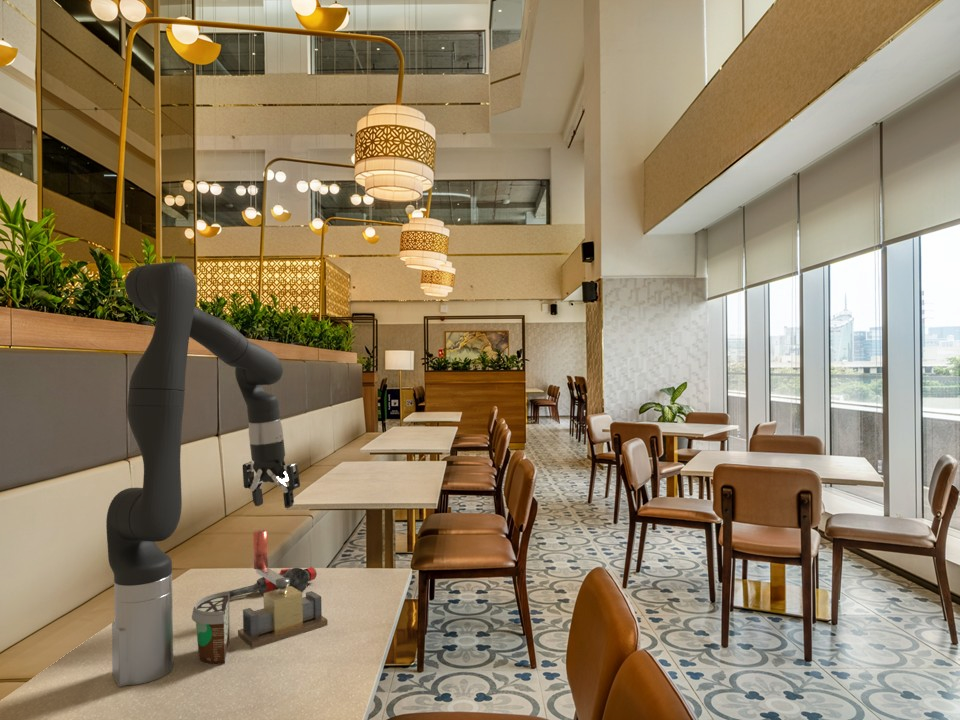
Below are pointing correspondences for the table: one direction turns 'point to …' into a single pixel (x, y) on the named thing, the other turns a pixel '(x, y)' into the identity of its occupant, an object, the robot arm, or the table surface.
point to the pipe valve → (282, 617)
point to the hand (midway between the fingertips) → (273, 506)
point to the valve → (295, 575)
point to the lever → (265, 560)
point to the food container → (212, 627)
